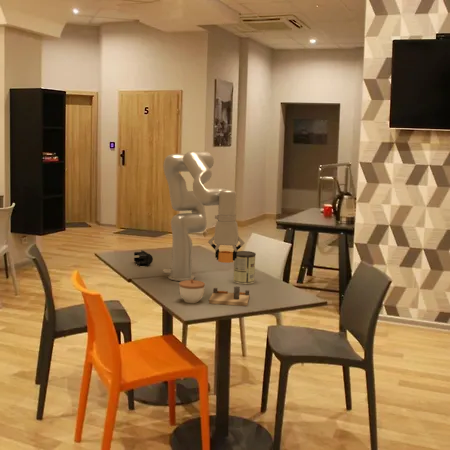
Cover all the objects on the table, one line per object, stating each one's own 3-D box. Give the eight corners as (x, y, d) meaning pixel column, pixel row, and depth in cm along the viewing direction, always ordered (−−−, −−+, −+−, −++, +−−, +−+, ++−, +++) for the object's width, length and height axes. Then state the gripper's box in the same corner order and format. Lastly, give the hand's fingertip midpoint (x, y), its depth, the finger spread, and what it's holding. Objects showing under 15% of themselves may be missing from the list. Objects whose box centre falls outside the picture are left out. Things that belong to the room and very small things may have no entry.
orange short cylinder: (217, 262, 273) (217, 253, 273) (219, 259, 279) (219, 250, 279) (232, 262, 272) (232, 253, 272) (233, 260, 279) (234, 251, 278)
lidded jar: (209, 301, 270) (210, 279, 268) (191, 306, 262) (192, 283, 260) (191, 296, 277) (192, 275, 275) (173, 300, 269) (174, 278, 267)
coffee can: (236, 278, 313) (237, 250, 311) (256, 280, 310) (257, 252, 308) (230, 282, 303) (231, 253, 301) (251, 285, 300) (253, 255, 298)
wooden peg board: (208, 303, 266) (209, 288, 265) (213, 294, 280) (213, 280, 279) (247, 306, 265) (247, 290, 264) (249, 297, 279) (250, 282, 278)
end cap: (152, 266, 332) (153, 253, 331) (139, 267, 329) (140, 254, 328) (146, 262, 341) (146, 250, 340) (133, 263, 338) (133, 250, 337)
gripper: (205, 218, 271) (204, 260, 273) (246, 220, 269) (245, 262, 271) (208, 216, 278) (207, 257, 280) (247, 218, 276) (246, 259, 279)
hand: (225, 259), depth 276 cm, fingers closed on orange short cylinder, 6 cm apart
